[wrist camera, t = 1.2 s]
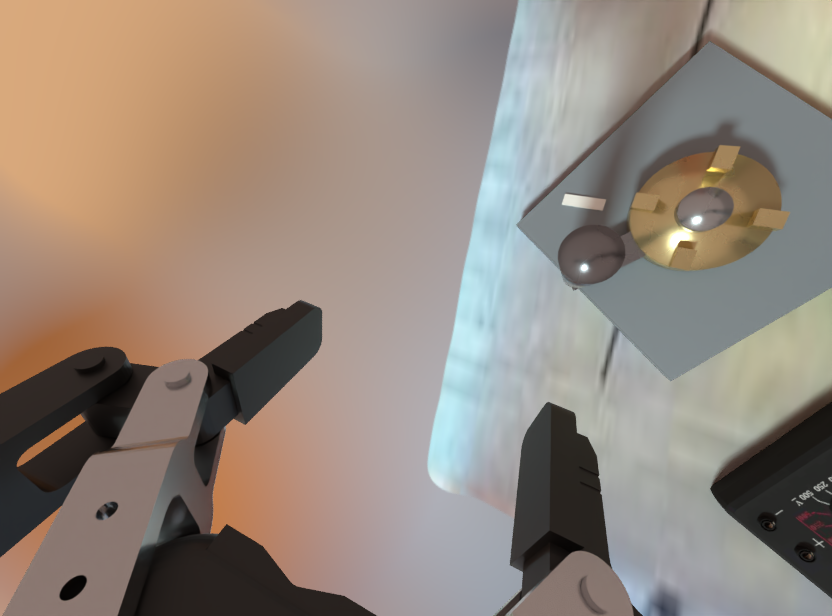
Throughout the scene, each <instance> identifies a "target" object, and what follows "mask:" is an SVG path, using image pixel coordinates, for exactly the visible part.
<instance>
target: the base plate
mask: <svg viewBox="0 0 832 616" xmlns="http://www.w3.org/2000/svg"><path fill="white" fill-rule="evenodd" d="M719 145H726V146H740V149H739V152H738V154H739V155H743V156H746V157H748V158H751V159H753V160H755V161H757V162H758V163H760V164H761V165H763V166H764V167H765V168H766V169H768V171H769V172H770V173H771V174H772V175H773V176H774V178H775V180H776V181H777V183H778V186H779V188H780V192H781V197H782V207H781V211H787V212H790V214H789V216H788V218H787V221H786V223H785V225H784V227H783V229H782V230H778V231H772V232H771V234H770V235H769V236H768V238H767V239H766V240H765V241H764V242H763V243H762V244H761V245H760V246H759V247H757V248H756V249H755V250H754V251H753V252H751V253H749V254H748V255H746V256H745V257H743V258H741V259H739V260H737V261H735V262H732V263H729V264H727V265H724V266H720V267H716V268H710V269H704V270H698V271H675V270H669V269H665V268H662V267H659V266H657V265H654V264H652V263H651V262H649V261H647V260H646V259H644V258H643V257H642V258H640V259H638V260H636V261H634V262H632V263H629V264H627V265H625V266H623V267H621V268H620V269H619V270H618V272H617V273H616V274H614V275H613V276H612V277H611V278H609V279H607V280H605V281H603V282H600V283H596V284H593V285H589V286H585V287H582V288H578V289H579V290H580V291H581V292H582V293H583V294H584V295H585V296H586V297H587V298H588V299H589V300H590V301H591V302H592V303H593V304H594V305H595V306H596V307H597V308H598V309H599V310H600V311H601V312H602V313H603V314H604V315H605V316H606V317H607V318H608V319H609V320H610V321H611V322H612V323H613V324H614V325H615V326H616V327H617V328H618V329H619V330H620V331H621V332H622V333H623V334H624V335H625V336H626V337H627V338H628V339H629V340H630V341H631V342H632V343H633V344H634V345H635V347H636V348H637V349H638V350H639V351H640V352H641V353H642V354H643V355H644V356H645V357H646V358H647V359H648V360H649V361H650V362H651V363H652V364H653V365H654V366H655V367H656V368H657V369H658V370H659V371H660V372H661V373H662V374H663V375H664V376H665V377H666V378H668V379H669V380H670V381H672V380H674V379H675V378H677V377H679V376H681V375H682V374H684V373H686V372H687V371H689V370H691V369H693V368H694V367H696V366H698V365H699V364H701V363H703V362H705V361H706V360H708V359H710V358H711V357H713V356H715V355H717V354H718V353H720V352H722V351H723V350H725V349H727V348H729V347H730V346H732V345H734V344H736V343H737V342H739V341H741V340H742V339H744V338H746V337H748V336H749V335H751V334H753V333H754V332H756V331H758V330H760V329H761V328H763V327H765V326H766V325H768V324H770V323H772V322H773V321H775V320H777V319H778V318H780V317H782V316H784V315H785V314H787V313H789V312H790V311H792V310H794V309H796V308H797V307H799V306H801V305H803V304H804V303H806V302H808V301H809V300H811V299H813V298H815V297H816V296H818V295H820V294H821V293H823V292H825V291H827V290H828V289H830V288H832V119H831V118H829V117H827V116H826V115H824V114H823V113H821V112H820V111H818V110H817V109H815V108H813V107H812V106H810V105H809V104H807V103H806V102H804V101H803V100H801V99H799V98H798V97H796V96H795V95H793V94H792V93H790V92H788V91H787V90H785V89H784V88H782V87H781V86H779V85H778V84H776V83H774V82H773V81H771V80H770V79H768V78H767V77H765V76H764V75H762V74H760V73H759V72H757V71H756V70H754V69H753V68H751V67H750V66H748V65H746V64H745V63H743V62H742V61H740V60H739V59H737V58H735V57H734V56H732V55H731V54H729V53H728V52H726V51H725V50H723V49H721V48H720V47H718V46H717V45H715V44H714V43H712V42H711V41H709V42H708V43H707V44H706V45H705V46H704V47H703V48H702V49H701V50H700V51H699V52H698V53H697V54H696V55H695V56H693V57H692V58H691V59H690V60H689V61H688V62H687V63H686V64H685V65H684V66H683V67H682V68H681V69H680V70H679V71H678V72H677V73H676V74H675V75H673V76H672V77H671V78H670V79H669V80H668V81H667V82H666V83H665V84H664V85H663V86H662V87H661V88H660V89H659V90H658V91H657V92H656V93H655V94H653V95H652V96H651V97H650V98H649V99H648V100H647V101H646V102H645V103H644V104H643V105H642V106H641V107H640V108H639V109H638V110H637V111H636V112H635V113H633V114H632V115H631V116H630V117H629V118H628V119H627V120H626V121H625V122H624V123H623V124H622V125H621V126H620V127H619V128H618V129H617V130H616V131H615V132H613V133H612V134H611V135H610V136H609V137H608V138H607V139H606V140H605V141H604V142H603V143H602V144H601V145H600V146H599V147H598V148H597V149H596V150H594V151H593V152H592V153H591V154H590V155H589V156H588V157H587V158H586V159H585V160H584V161H583V162H582V163H581V164H580V165H579V166H578V167H577V168H576V169H574V170H573V171H572V172H571V173H570V174H569V175H568V176H567V177H566V178H565V179H564V180H563V181H562V182H561V183H560V184H559V185H558V186H557V187H556V188H554V189H553V190H552V191H551V192H550V193H549V194H548V195H547V196H546V197H545V198H544V199H543V200H542V201H541V202H540V203H539V204H538V205H537V206H536V207H534V208H533V209H532V210H531V211H530V212H529V213H528V214H527V215H526V216H525V217H524V218H523V219H522V220H521V221H520V222H519V223H518V224H517V226H518V228H519V229H520V230H521V231H522V232H523V233H524V234H525V235H526V236H527V237H528V238H529V239H530V240H531V241H532V242H533V243H534V244H535V245H536V246H537V247H538V248H539V249H540V250H541V251H542V252H543V253H544V254H545V255H546V256H547V257H548V258H549V259H550V260H551V261H552V262H553V263H554V264H555V265H556V266H557V267H558V268H559V269H560V266H559V263H558V251H559V247H560V245H561V243H562V241H563V240H564V238H565V237H566V236H567V235H568V234H569V233H571V232H572V231H574V230H575V229H577V228H579V227H582V226H586V225H602V226H606V227H609V228H611V229H612V230H614V231H615V232H616V233H617V234H619V236H620V237H621V236H623V235H625V234H627V215H628V211H629V208H630V206H631V204H632V201H633V199H634V196H635V194H636V193H637V192H639V191H640V189H641V188H642V187H643V186H644V184H645V183H646V182H647V181H648V180H649V179H650V178H651V177H652V176H653V175H654V174H655V173H657V172H658V171H659V170H661V169H662V168H664V167H665V166H667V165H669V164H671V163H673V162H674V161H677V160H679V159H682V158H684V157H687V156H691V155H694V154H699V153H705V152H714V151H715V149H716V148H717V147H718V146H719ZM560 271H561V270H560Z"/></svg>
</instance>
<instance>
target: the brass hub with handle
mask: <svg viewBox="0 0 832 616" xmlns="http://www.w3.org/2000/svg"><path fill="white" fill-rule="evenodd" d="M739 149H740V146H726V145H719V146H718V147H717V148H716V149H715V151H714V152H705V153H699V154H694V155H691V156H687V157H684V158H682V159H679V160H677V161H674V162H673V163H671V164H669V165H667V166H665V167H664V168H662V169H661V170H659V171H658V172H657V173H655V174H654V175H653V176H652V177H651V178H650V179H649V180H648V181H647V182H646V183H645V184H644V186H643V187H642V188H641V189H640V191H639V192H637V193H636V194H635V196H634V199H633V201H632V204H631V206H630V208H629V211H628V215H627V234H625V235H623V236H621V237H620V236H619V234H617V233H616V232H615V231H614V230H612V229H611V228H609V227H606V226H602V225H586V226H582V227H579V228H577V229H575V230H574V231H572V232H571V233H569V234H568V235H567V236H566V237H565V238H564V240H563V241H562V243H561V245H560V247H559V251H558V263H559V266H560V270H561V273H562V277H563V280H564V282H565V283H566V284H567V285H568V286H570V287H572V289H573V290H576V289H578V288H582V287H585V286H589V285H593V284H596V283H600V282H603V281H605V280H607V279H609V278H611V277H612V276H613V275H614V274H616V273H617V272H618V270H619V269H620V268H621V267H623V266H625V265H627V264H629V263H632V262H634V261H636V260H638V259H640V258H642V257H643V258H644V259H646V260H647V261H649V262H651V263H652V264H654V265H657V266H659V267H662V268H665V269H669V270H675V271H698V270H704V269H710V268H716V267H720V266H724V265H727V264H729V263H732V262H735V261H737V260H739V259H741V258H743V257H745V256H746V255H748V254H749V253H751V252H753V251H754V250H755V249H756V248H757V247H759V246H760V245H761V244H762V243H763V242H764V241H765V240H766V239H767V238H768V236H769V235H770V234H771V232H772V231H778V230H782V229H783V227H784V225H785V223H786V221H787V218H788V216H789V214H790V212H787V211H781V207H782V197H781V192H780V188H779V186H778V183H777V181H776V180H775V178H774V176H773V175H772V174H771V173H770V172H769V171H768V169H766V168H765V167H764V166H763V165H761V164H760V163H758V162H757V161H755V160H753V159H751V158H748V157H746V156H743V155H739V154H738V152H739Z"/></svg>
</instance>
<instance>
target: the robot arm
mask: <svg viewBox="0 0 832 616" xmlns="http://www.w3.org/2000/svg"><path fill="white" fill-rule="evenodd" d="M321 342H322V310H321V309H320V308H319V307H317V306H314V305H312V304H309V303H307V302H304V301H301V300H300V301H297V302H296V303H294V304H293V305H291V306H290V307H289V308H287V309H283V308H281V309H278V310H275V311H272V312H269V313H266V314H265V315H264V316H262V317H261V318H259V319H258V320H256V321H255V322H254V324H250V325H249V326H247V327H246V328H245V329H244V330H243V331H240V332H239V333H237V334H236V335H234V336H233V337H231V338H230V339H229V340H227V341H226V342H224V343H223V344H221V345H220V346H218V347H217V348H215V349H214V350H213V351H211V352H210V353H208V354H207V355H205V356H204V357H202V358H201V359H199V360H194V359H182V360H176V361H173V362H169V363H167V364H164V365H163V366H161V367H154V366H147V365H139V364H132V363H129V361H128V359H127V357H126V355H125V353H124V352H123V351H122V350H120V349H118V348H113V347H99V348H92V349H88V350H85V351H82V352H79V353H77V354H75V355H72V356H71V357H69V358H67V359H65V360H63V361H61V362H59V363H57V364H55V365H54V366H52V367H50V368H48V369H46V370H44V371H43V372H40V373H39V374H37V375H35V376H33V377H31V378H29V379H27V380H26V381H24V382H22V383H20V384H18V385H16V386H14V387H12V388H11V389H9V390H7V391H5V392H3V393H1V394H0V557H1V556H2V555H4V554H5V553H6V552H7V551H8V550H10V549H11V548H12V547H13V546H14V545H15V544H16V543H18V542H19V541H20V540H21V539H22V538H24V537H25V536H26V535H27V534H28V533H30V532H31V531H32V530H33V529H34V528H36V527H37V526H38V525H39V524H40V523H42V522H43V521H44V520H45V519H46V518H47V517H49V516H50V515H51V514H52V513H53V512H55V511H56V510H57V509H58V508H59V507H60V506H62V507H61V509H60V510H59V512H58V514H57V516H56V518H55V520H54V522H53V524H52V525H51V527H50V529H49V531H48V533H47V534H46V536H45V538H44V540H43V542H42V544H41V545H40V548H39V549H38V551H37V553H36V555H35V557H34V558H33V560H32V562H31V564H30V566H29V568H28V569H27V571H26V573H25V575H24V577H23V579H22V580H21V582H20V584H19V586H18V588H17V590H16V592H15V593H14V595H13V597H12V599H11V601H10V603H9V604H8V606H7V608H6V610H5V612H4V614H3V616H376V615H375V614H373V613H371V612H370V611H368V610H366V609H365V608H363V607H362V606H360V605H358V604H357V603H355V602H353V601H352V600H350V599H348V598H347V597H345V596H341V595H336V594H331V593H326V592H321V591H316V590H311V589H306V588H301V587H297V586H295V585H293V584H292V583H291V582H290V581H289V580H288V578H287V577H286V576H285V574H284V573H283V572H282V570H281V569H280V568H279V567H278V566H277V564H276V563H275V561H274V560H273V559H272V558H271V556H270V555H269V554H268V552H267V551H266V550H265V549H264V547H263V546H261V545H259V544H258V543H257V542H255V541H253V540H252V539H250V538H248V537H247V536H245V535H244V534H241V533H240V532H239V531H237V530H235V529H233V528H232V527H230V526H229V525H227V524H226V526H225V527H224V528H223V529H222V530H221V532H220V533H219V534H210V532H211V526H212V520H213V489H214V484H215V479H216V474H217V469H218V465H219V460H220V455H221V450H222V446H223V441H224V436H225V431H226V427H225V426H226V425H227V424H228V423H229V422H230V421H231V420H232V419H235V420H237V421H239V422H241V423H243V424H245V425H246V424H247V423H248V422H249V421H250V420H251V419H252V418H253V417H254V416H255V415H256V414H257V413H258V412H259V411H260V410H261V409H262V408H263V407H264V406H265V405H266V404H267V403H268V402H269V401H270V400H271V399H272V398H273V397H274V396H275V395H276V394H277V393H278V392H279V391H280V390H281V389H282V388H283V387H284V386H285V385H286V384H287V383H288V382H289V381H290V380H291V379H292V378H293V377H294V376H295V375H296V374H297V373H298V372H299V371H300V369H302V368H303V367H304V366H305V365H306V364H307V363H308V362H309V361H310V360H311V359H312V357H314V356H315V354H316V353H317V352H318V350H319V348H320V345H321ZM79 414H81V415H82V417H83V418H84V419H85V422H84V423H82V424H81V425H79V426H78V427H76V428H75V429H74V430H72V431H71V432H69V433H68V434H67V435H65V436H64V437H62V438H61V439H59V440H58V441H56V442H55V443H54V444H52V445H51V446H49V447H48V448H46V449H45V450H43V451H42V452H41V453H39V454H38V455H36V456H35V457H34V458H32V459H31V460H29V461H28V462H26V463H25V464H23V465H21V466H19V467H17V461H18V460H19V458H20V457H21V455H22V454H23V453H24V452H25V451H26V450H27V449H29V448H30V447H32V446H33V445H35V444H36V443H38V442H39V441H41V440H42V439H44V438H45V437H47V436H48V435H49V434H51V433H53V432H54V431H55V430H57V429H58V428H60V427H61V426H63V425H64V424H66V423H67V422H69V421H70V420H72V419H73V418H75V417H76V416H78V415H79ZM598 476H599V470H598V462H597V456H596V454H595V452H594V450H593V448H592V446H591V444H590V442H589V440H588V437H585V436H583V435H581V434H578V433H577V428H576V416H575V414H574V412H572V411H569V410H567V409H564V408H562V407H559V406H557V405H555V404H552V403H550V402H547V403H546V404H545V405H544V407H543V408H542V410H541V411H540V413H539V414H538V415H537V417H536V418H535V420H534V421H533V423H532V424H531V426H530V427H529V429H528V430H527V432H526V434H525V437H524V440H523V443H522V449H521V459H520V469H519V479H518V488H517V498H516V508H515V518H514V529H513V538H512V549H511V558H510V565H511V566H513V567H515V568H516V569H519V570H520V571H522V572H523V580H522V588H521V589H520V590H519V591H518V592H517V593H516V594H515V595H514V596H513V597H512V598H511V599H510V600H509V601H508V602H507V603H506V604H505V605H504V606H503V607H502V608H501V609H500V610H499V611H498V612H497V613H495V615H493V616H643V615H642V614H640V613H639V612H638V611H637V609H636V608H635V607H634V606H633V605H632V604H631V601H630V598H629V596H628V593H627V591H626V589H625V587H624V585H623V584H622V582H621V580H620V579H619V577H618V576H617V575H616V573H615V572H614V571H613V570H612V567H611V564H610V558H609V551H608V543H607V535H606V527H605V519H604V511H603V503H602V495H601V494H600V492H601V486H600V479H599V478H598Z"/></svg>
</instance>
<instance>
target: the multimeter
mask: <svg viewBox="0 0 832 616" xmlns="http://www.w3.org/2000/svg"><path fill="white" fill-rule="evenodd" d="M711 491H712V493H713V495H714V497H715V498H716V500H717V501H718V502H719V504H720V505H721V506H722V507H723V508H724V509H725V511H726V512H727V513H728V514H729V515H730V516H732V517H733V518H734V519H735V520H737V521H738V522H739V523H740V524H741V525H743V526H744V527H745V528H746V529H748V530H749V531H750V532H751V533H752V534H754V535H755V536H756V537H757V538H759V539H760V540H761V541H762V542H763V543H765V544H766V545H767V546H768V547H770V548H771V549H772V550H773V551H774V552H776V553H777V554H778V555H779V556H781V557H782V558H783V559H784V560H785V561H787V562H788V563H789V564H790V565H792V566H793V567H794V568H795V569H796V570H798V571H799V572H800V573H801V574H803V575H804V576H805V577H806V578H807V579H809V580H810V581H811V582H812V583H814V584H815V585H816V586H817V587H818V588H820V589H821V590H822V591H823V592H825V593H826V594H827V595H828V596H829V597H831V598H832V402H831V403H829V404H828V405H826V406H825V407H823V408H822V409H821V410H819V411H818V412H816V413H815V414H813V415H812V416H811V417H809V418H808V419H806V420H805V421H803V422H802V423H801V424H799V425H798V426H796V427H795V428H793V429H792V430H791V431H789V432H788V433H786V434H785V435H784V436H782V437H781V438H779V439H778V440H776V441H775V442H774V443H772V444H771V445H769V446H768V447H766V448H765V449H764V450H762V451H761V452H759V453H758V454H756V455H755V456H754V457H752V458H751V459H749V460H748V461H746V462H745V463H744V464H742V465H741V466H739V467H738V468H737V469H735V470H734V471H732V472H731V473H729V474H728V475H727V476H725V477H724V478H722V479H721V480H719V481H718V482H717V483H715V484H714V485H712V487H711Z"/></svg>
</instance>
